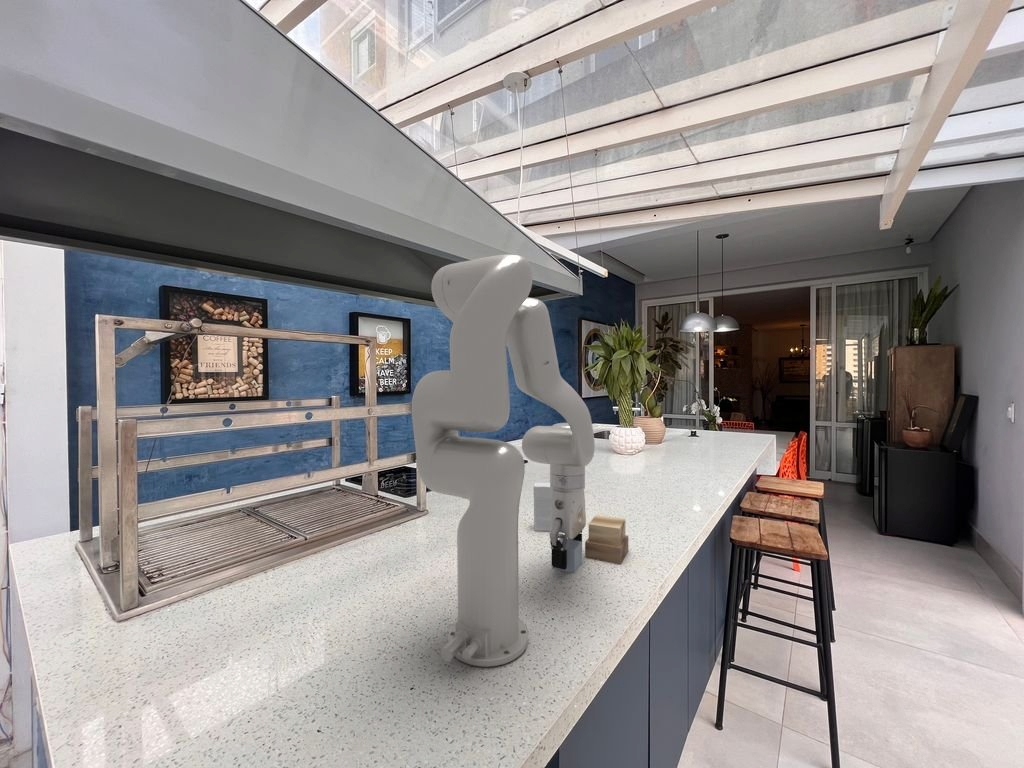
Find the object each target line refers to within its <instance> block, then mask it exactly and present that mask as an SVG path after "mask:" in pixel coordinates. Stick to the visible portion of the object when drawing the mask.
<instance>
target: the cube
mask: <svg viewBox="0 0 1024 768" xmlns="http://www.w3.org/2000/svg"><path fill="white" fill-rule="evenodd" d="M558 540H560V542H561V544H562V541H563V539H561V538H558ZM565 550H567V568H566V569H565V570H563V569H559V568H555V567H552V566H551V568H552V569H554V570H559V571H562V572H567V573H572V574H575V573H576V572H577V571H578V570H579V568H580V567H581V566H582V565H583V540H582V541H576V540H571V539H568V538H567V543H566V547H565Z"/></svg>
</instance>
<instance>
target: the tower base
mask: <svg viewBox="0 0 1024 768" xmlns="http://www.w3.org/2000/svg"><path fill="white" fill-rule="evenodd" d="M628 552H629V535H626V534H625V537H624V539H623V541H622V543H621V545H620V547H619V546H613V545H607V544H601V543H595V542H589V537H587V539H586V541H584V557H585V559H590V560H595V561H596V560H597V561H600V562H606V563H610V564H615V565H618V566H619V565H621V564H622V563H623V561H624V559H625V558H626V556H627V554H628Z"/></svg>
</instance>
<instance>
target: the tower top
mask: <svg viewBox="0 0 1024 768" xmlns="http://www.w3.org/2000/svg"><path fill="white" fill-rule="evenodd" d="M625 535H626V518H623V517H616V516H609V515H601V514H595V515H594V516H593V518H592V519H591V520H590V522H588V538H589V542H595V543H601V544H607V545H613V546H619V547H620V545H621V543H622V541H623V539H624V537H625Z"/></svg>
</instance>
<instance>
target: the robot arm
mask: <svg viewBox="0 0 1024 768" xmlns="http://www.w3.org/2000/svg"><path fill="white" fill-rule="evenodd" d="M533 276H534V273H533V268H532V265H531V262H529V260H528V259H527V258H525V257H524V256H521V255H519V254H506V253H505V254H498V255H491V256H487V257H480V258H475V259H471V260H464V261H460V262H455V263H450V264H447V265H444V266H442V267H441V268H439V269H438V270H437V271H436V272H435V274H434V275H433V277H432V280H431V294H432V298H433V301H434V303H435V305H436V307H437V308H438V309H439V310H440V312H441V313H442V314H443V315H444V316H445V317H446V318H447V319H448V320H449V321H451V322H452V323H453V324H452V326H451V329H450V335H449V362H450V363H449V365H450V370H449V369H448V370H446V369H445V370H443V369H442V370H434V371H430V372H428V373H427V374H425V375H424V376H422V378H420V379H419V381H418V382H417V384H416V385H415V388H414V391H413V394H412V399H411V419H412V420H411V421H412V428H413V429H412V430H413V436H414V446H415V449H414V450H415V456H416V465H417V471H418V474H419V478H420V480H421V482H422V483H423V485H424V487H426V488H427V489H428V490H430V491H432V492H435V493H438V494H442V495H446V496H452V497H457V498H461V499H466V500H468V501H469V505H468V507H467V508H466V511H465V512H464V513H463V515H462V517H461V518H460V520H459V523H458V527H457V530H456V531H457V533H456V545H457V546H456V549H457V551H456V552H457V553H456V554H457V557H456V559H457V565H456V566H457V567H456V568H457V574H456V577H457V621H455V622H454V623H453V625H452V626H451V627H450V628H449V631H448V634H447V643H446V644H445V645H444V646H443V647H442V648H441V650H440V655H441V657H442V659H443V660H444V661H445V662H450V661H452V660H453V659H454V657H455V658H456V659H457V660H458V661H461V662H462V663H465V664H467V665H471V666H476V667H497V666H502V665H505V664H507V663H510V662H512V661H514V660H515V659H517V658H519V657H520V656H521V655H522V654H523V653H524V652H525V650H526V649H527V646H528V644H529V630H528V627H527V626H526V624H525V623H524V621H523V620H521V619H520V618H519V617H520V616H519V610H520V605H519V513H520V512H519V511H520V501H521V495H522V490H523V485H524V478H525V471H526V469H525V466H526V465H525V460H524V457H526V458H527V459H528V460H529V461H532V462H534V463H538V464H545V465H549V483H550V488H551V489H553V490H552V500H551V531H549V534H548V535H549V539H550V541H549V544H550V549H551V568H552V567H555V568H559V569H563V570H565V569H566V568H567V550H565V547H566V543H567V539H571V540H576V541H582V542H583V534H582V533H583V530H584V528H585V527H586V526H587V520H586V519H587V518H586V516H587V515H586V514H587V513H586V496H585V489H586V467H587V466H588V465H590V463H591V462H592V460H593V458H594V457H595V450H596V449H595V447H596V444H595V436H594V429H593V422H592V416H591V413H590V410H589V408H588V406H587V405H586V402H584V400H583V399H582V397H581V396H580V395H579V394H578V392H577V391H576V390H575V389H574V388H573V387H572V386H571V385H570V384H569V382H567V381H566V380H565V379H564V378H563V377H562V375H561V372H560V367H559V361H558V356H557V351H556V344H555V341H554V340H555V339H554V334H553V329H552V324H551V319H550V318H551V317H550V313H549V309H548V307H547V306H546V304H545V303H544V302H543V301H542V300H540V299H537V298H533V297H529V295H530V292H531V290H532V286H533V279H534V278H533ZM507 351H508V354H509V355H508V354H507ZM507 355H508V356H509V359H510V362H511V363H510V364H511V366H512V371H513V376H514V380H515V381H514V382H515V384H516V387H517V388H518V389H519V390H520V391H521V392H522V393H524V394H526V395H527V396H529V397H532V398H534V399H535V400H537V401H538V402H541V403H543V404H545V405H547V406H549V407H550V408H552V409H553V410H555V411H556V412H557V413H558V414H560V415H561V416H562V417H563V419H564V420H565V422H558V423H554V424H552V425H536V426H533V427H530V428H529V429H528V430H527V431H526V432H525V433H524V435H523V437H522V440H521V449H522V450H521V451H522V452H523V455H524V457H523V455H522V453H521V451H520V450H519V449H518V448H517V447H516V446H514V445H512V444H511V443H509V442H506V441H504V440H503V441H502V440H500V439H499V440H498V439H495V438H494V439H491V438H483V437H475V436H474V437H468V436H459V432H471V433H491V432H497V431H500V429H502V428H504V426H505V425H506V424H507V423H508V420H509V417H510V412H511V408H510V407H511V399H510V398H511V397H510V386H509V385H510V384H509V371H508V358H507V357H508V356H507ZM560 538H561V539H563V541H562V544H561V542H560V540H559V539H560Z"/></svg>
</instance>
